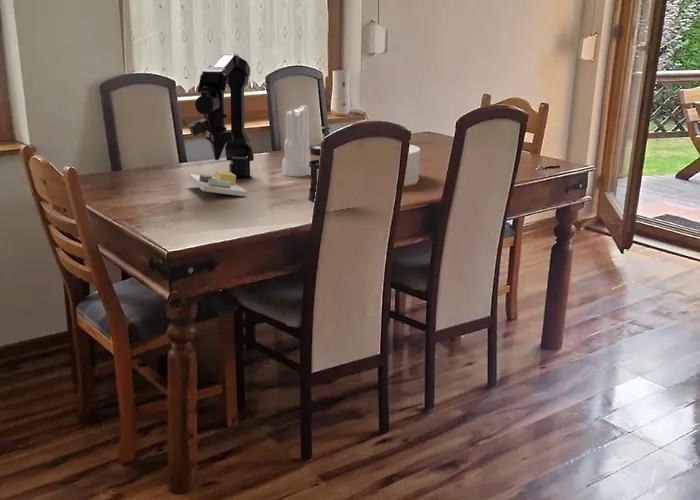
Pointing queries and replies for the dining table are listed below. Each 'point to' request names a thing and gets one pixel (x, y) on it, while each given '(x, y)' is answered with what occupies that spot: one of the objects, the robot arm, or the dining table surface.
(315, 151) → the french press
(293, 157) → the decorative vase
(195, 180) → the instrument board
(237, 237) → the dining table surface
